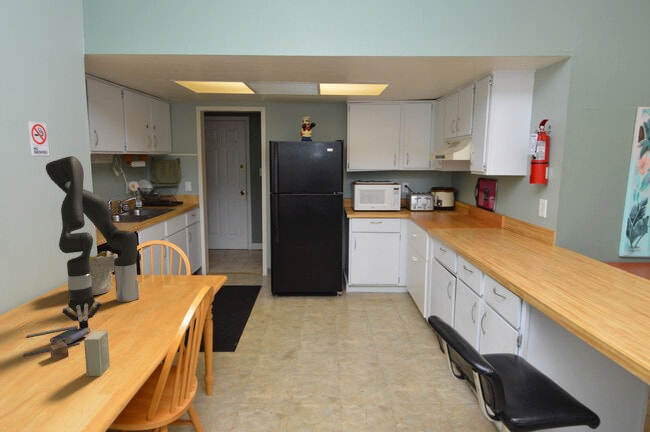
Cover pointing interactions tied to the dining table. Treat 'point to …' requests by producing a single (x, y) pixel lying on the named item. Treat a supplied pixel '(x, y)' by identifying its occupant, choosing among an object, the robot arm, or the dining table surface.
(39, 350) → the guide strip
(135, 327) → the dining table surface
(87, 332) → the flask
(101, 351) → the skincare box
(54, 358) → the walnut cube
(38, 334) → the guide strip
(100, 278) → the ceramic vessel
